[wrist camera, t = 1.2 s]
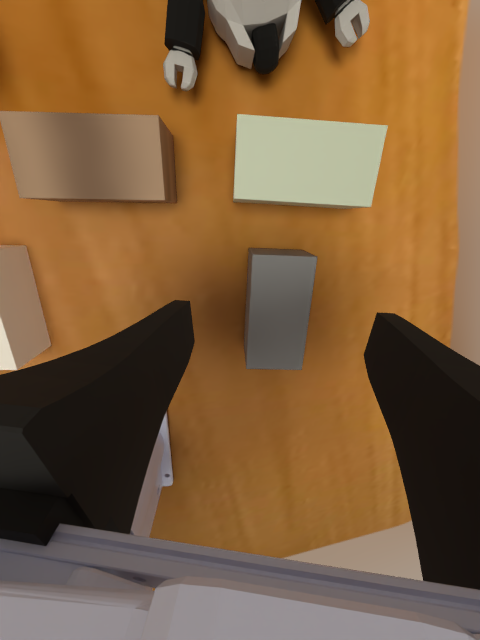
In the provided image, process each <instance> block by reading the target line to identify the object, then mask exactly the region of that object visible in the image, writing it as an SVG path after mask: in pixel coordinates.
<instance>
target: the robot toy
mask: <svg viewBox="0 0 480 640" xmlns="http://www.w3.org/2000/svg"><path fill="white" fill-rule="evenodd" d="M301 1H302V0H207V5H208V13H209V18H210V20H211V22H212V24H213V26H214V28H215V30H216V32H217V34H218V35H219V36H220V37H221V38H222V39H223V40H224V41H225V42H226V43H227V45H228V47H229V49H230V51H231V53H232V55H233V57H234V59H235V61H236V63H237V64H238V65H241V66H244V67H247V68H250V69H251V67H252V62H253V64H254V67H255V70H256V71H257V72H258V73H260V74H268V73H270V72H272V71H273V70H274V69H275V68H276V67H277V65H278V61H279V58H280V57H281V56H282V55H283V54H284V53H285V52H286V51H287V50H288V47H289V45H290V43H291V40H292V38H293V36H294V33H295V31H296V29H297V23H298V17H299V11H300V5H301ZM315 2H316V4H317V6H318V9H319V11H320V13H321V15H322V17H323V20H324V22H325V24H327V23H329V22H330V21H331V20H332V19H333V18H334V17H335V36H336V38H337V39H338V41H339V42H340V43H341V44H342V46H343V47H350V46H351V45H353V44H354V43H355V41H356V40H357V37H356V35H355V32H354V30H353V27H354V29H355V31H356V33H357V36H358V38H360V37H361V36H362V35H364V34H365V32H366V31H367V29H368V26H369V23H370V20H369V14H368V9H367V5H366V4H364V3H363V2H362V1H360V0H315ZM204 18H205V10H204V5H203V0H168V5H167V18H166V31H165V46H166V47H167V48H168V49H169V51H170V52H169V54H168V56H167V57H166V59H165V61H164V63H163V67H164V77H165V80H166V81H167V83H168V84H169V85H170V86H171V87H173V88H176V89H177V86H176V81H177V71H179V72H183V79H182V84H181V89H182V90H183V91H188V90H190V89H191V88H193V87H194V84H195V81H196V78H197V74H198V73H197V69H196V65H195V61H194V60H198V59H199V56H200V51H201V43H202V35H203V26H204ZM351 23H352V24H351ZM352 25H353V27H352ZM278 37H279V40H278Z"/></svg>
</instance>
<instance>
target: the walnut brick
mask: <svg viewBox="0 0 480 640" xmlns="http://www.w3.org/2000/svg"><path fill="white" fill-rule="evenodd" d="M0 121H1V125H2V129H3V133H4V137H5V141H6V145H7V149H8V153H9V157H10V161H11V165H12V169H13V173H14V177H15V181H16V185H17V189H18V193H19V197H20V198H27V199H39V200H51V201H75V202H136V203H177V192H176V176H175V160H174V144H173V135H172V134H171V132H170V131H169V130H168V128H167V127H166V125H165V124H164V123H163V121H162V120H161V118H160V117H159V116H158V115H126V114H90V113H53V112H16V111H0Z"/></svg>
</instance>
